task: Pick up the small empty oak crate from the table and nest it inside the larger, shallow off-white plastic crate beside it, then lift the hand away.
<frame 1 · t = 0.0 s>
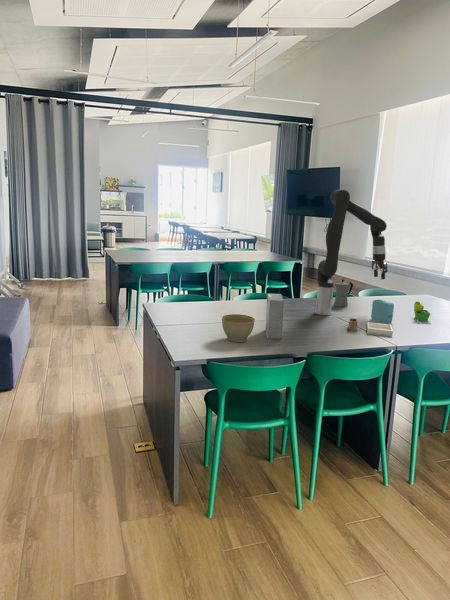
hand: (379, 278, 287), 22 cm above the table, tool pointing down, fingers open, 8 cm apart
planter bowl: (237, 340, 225), on the table
hard drive box: (273, 334, 236), on the table
coffeepot: (341, 305, 310), on the table
blue rounded block: (381, 321, 271), on the table
large crate: (379, 331, 248), on the table
small crate: (352, 328, 252), on the table
fruit basket: (419, 319, 278), on the table
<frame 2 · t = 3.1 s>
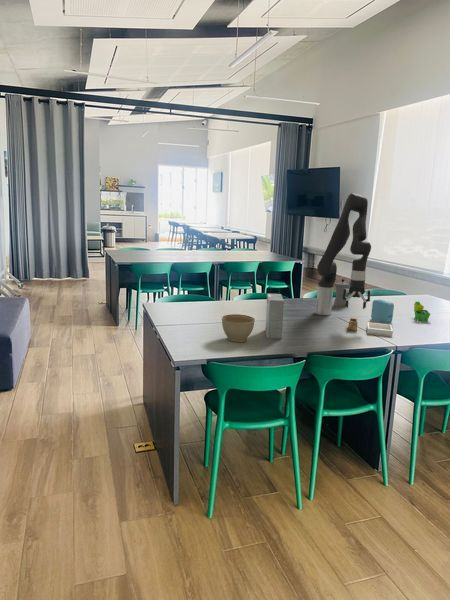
hand: (355, 308, 249), 12 cm above the table, tool pointing down, fingers open, 8 cm apart
nothing on the table moved.
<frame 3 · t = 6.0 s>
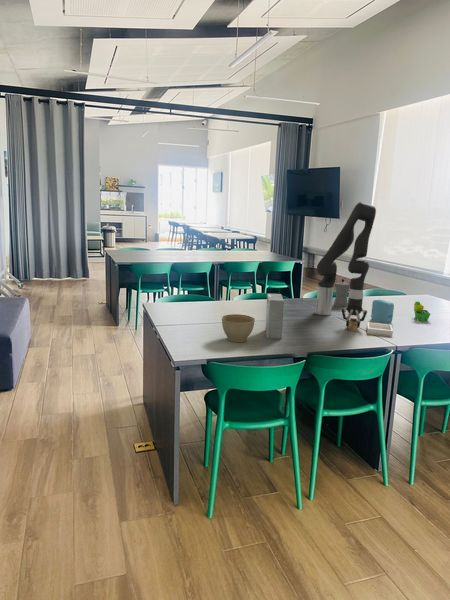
hand: (352, 327, 252), 1 cm above the table, tool pointing down, fingers closed on small crate, 4 cm apart
small crate: (352, 328, 252), on the table, touching gripper
everything else where it was.
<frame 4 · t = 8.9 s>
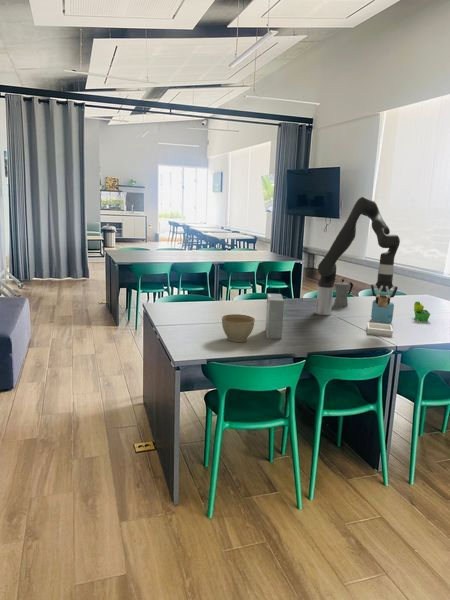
hand: (382, 304, 244), 15 cm above the table, tool pointing down, fingers closed on small crate, 4 cm apart
small crate: (382, 305, 245), point 15 cm above the table, touching gripper
everything else where it was.
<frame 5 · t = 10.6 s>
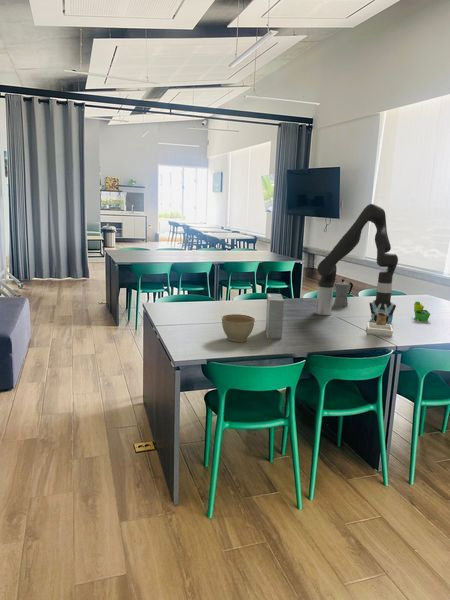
hand: (380, 321, 247), 6 cm above the table, tool pointing down, fingers closed on small crate, 4 cm apart
small crate: (380, 323, 247), point 5 cm above the table, touching gripper
everything else where it was.
when the fingers open (3 cm above the table, at t = 11.9 s): small crate drops 2 cm, resting on large crate.
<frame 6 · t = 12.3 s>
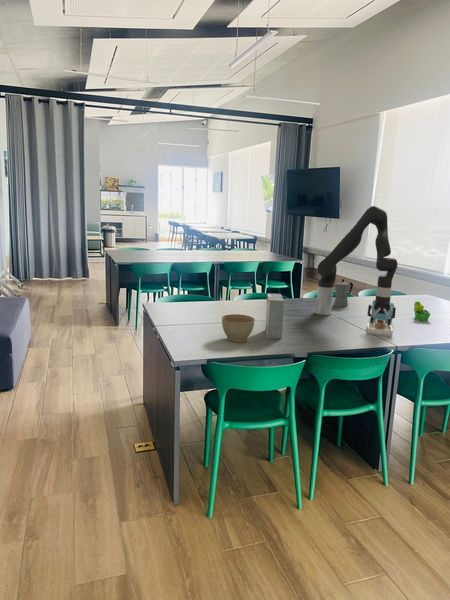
hand: (380, 324, 247), 4 cm above the table, tool pointing down, fingers open, 8 cm apart
small crate: (379, 330, 248), point 1 cm above the table, touching large crate
everything else where it was.
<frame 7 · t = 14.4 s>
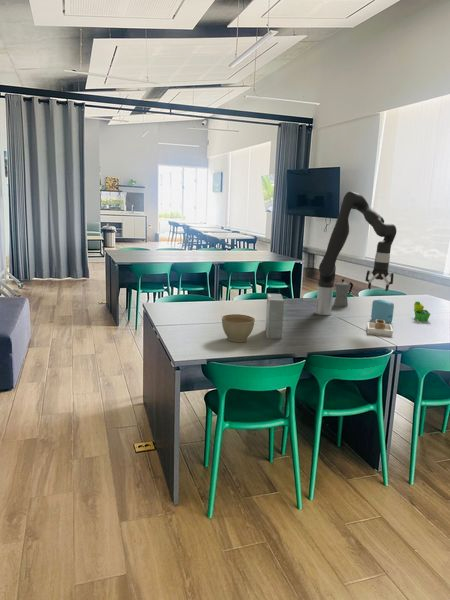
hand: (377, 290, 251), 21 cm above the table, tool pointing down, fingers open, 8 cm apart
nothing on the table moved.
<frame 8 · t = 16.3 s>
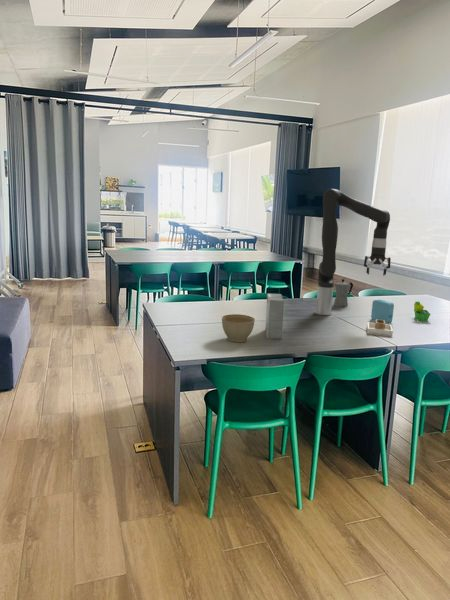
hand: (375, 274, 261), 28 cm above the table, tool pointing down, fingers open, 8 cm apart
nothing on the table moved.
at the end: small crate 0.0 cm off-centre on the large crate, point 0.8 cm above the large crate's base; small crate tilted 0°; the gripper is holding nothing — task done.
